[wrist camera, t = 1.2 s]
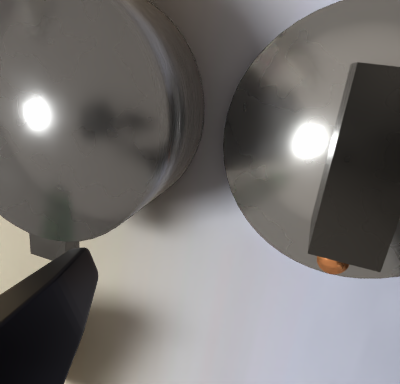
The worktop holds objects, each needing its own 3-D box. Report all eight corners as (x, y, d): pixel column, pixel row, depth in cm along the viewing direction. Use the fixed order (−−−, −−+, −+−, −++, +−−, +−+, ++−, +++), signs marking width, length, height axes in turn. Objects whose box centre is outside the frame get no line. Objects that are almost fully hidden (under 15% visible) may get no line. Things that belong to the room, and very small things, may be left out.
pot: (222, -42, 17) (175, -92, 12) (189, 244, 23) (147, 297, 18) (12, -51, 21) (-99, -93, 15) (30, 200, 26) (-46, 233, 21)
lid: (595, 10, 14) (731, -21, 9) (459, 297, 19) (502, 371, 14) (249, -13, 17) (222, -42, 13) (214, 233, 23) (185, 275, 18)
